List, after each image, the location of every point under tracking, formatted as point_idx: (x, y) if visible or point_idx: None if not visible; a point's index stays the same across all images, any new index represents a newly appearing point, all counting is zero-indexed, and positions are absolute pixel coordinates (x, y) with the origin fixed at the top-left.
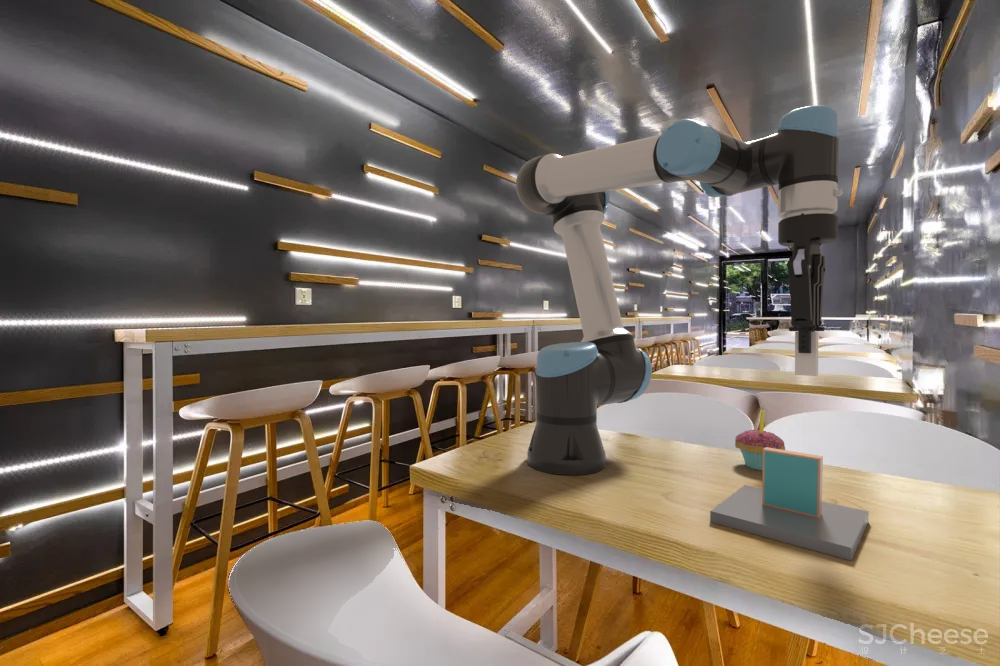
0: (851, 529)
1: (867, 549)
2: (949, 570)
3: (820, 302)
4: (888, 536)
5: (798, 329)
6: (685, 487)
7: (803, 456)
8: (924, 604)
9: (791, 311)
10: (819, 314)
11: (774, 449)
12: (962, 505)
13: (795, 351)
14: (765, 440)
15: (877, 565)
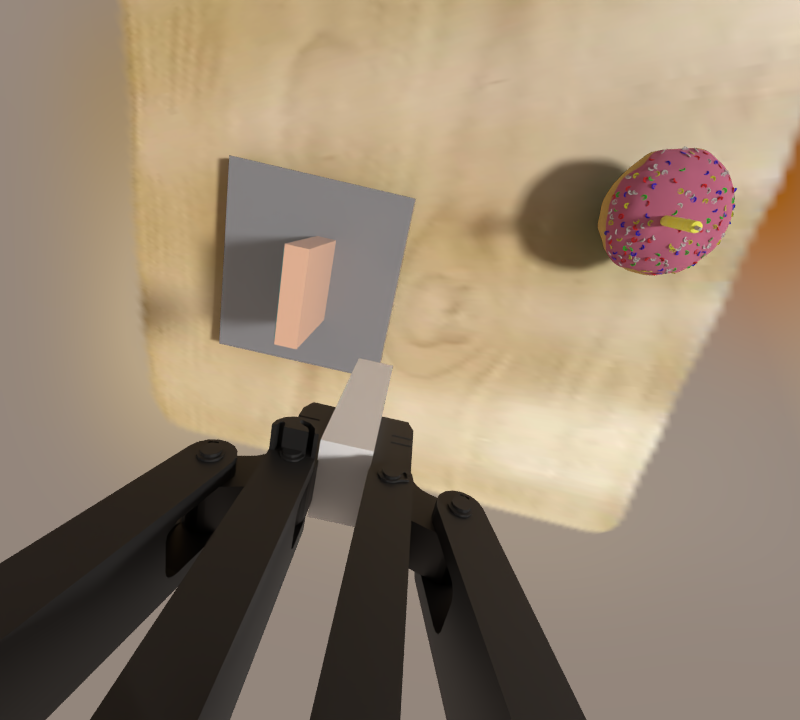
0: (285, 350)
1: (275, 359)
2: (269, 423)
3: (448, 717)
4: (337, 386)
5: (260, 457)
6: (397, 73)
7: (277, 317)
8: (168, 386)
9: (119, 490)
10: (424, 619)
11: (297, 266)
12: (523, 490)
13: (342, 394)
14: (625, 232)
15: (233, 362)
